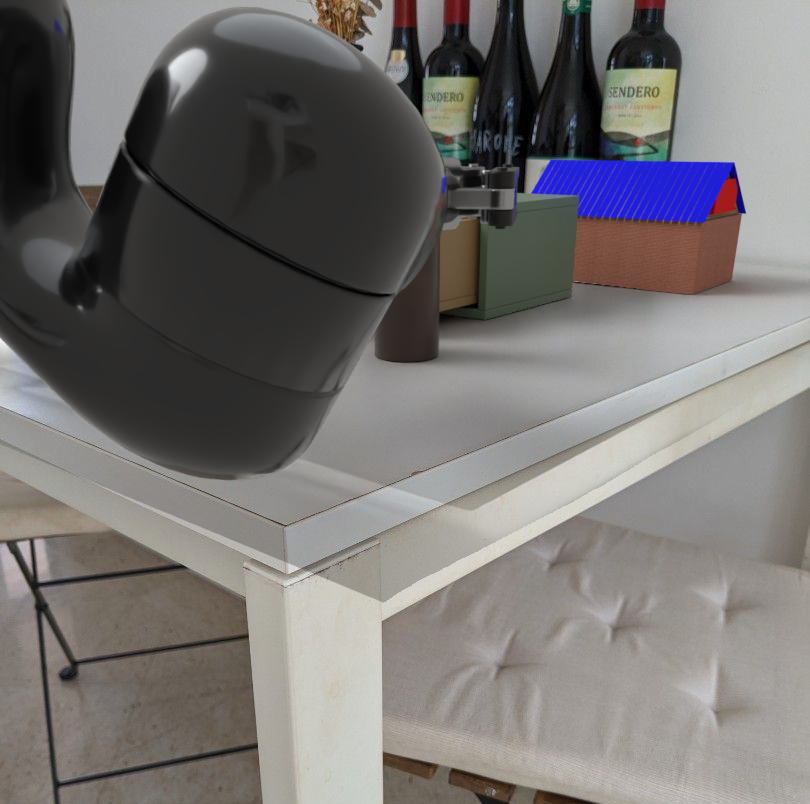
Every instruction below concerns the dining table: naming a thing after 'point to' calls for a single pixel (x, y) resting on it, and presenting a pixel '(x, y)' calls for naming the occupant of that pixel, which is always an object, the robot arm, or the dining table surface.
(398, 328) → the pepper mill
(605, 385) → the dining table surface
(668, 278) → the house
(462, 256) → the drawer
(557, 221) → the cabinet
